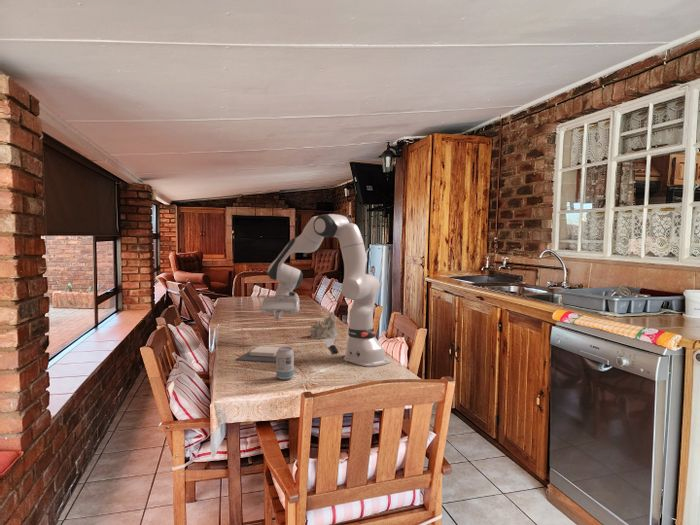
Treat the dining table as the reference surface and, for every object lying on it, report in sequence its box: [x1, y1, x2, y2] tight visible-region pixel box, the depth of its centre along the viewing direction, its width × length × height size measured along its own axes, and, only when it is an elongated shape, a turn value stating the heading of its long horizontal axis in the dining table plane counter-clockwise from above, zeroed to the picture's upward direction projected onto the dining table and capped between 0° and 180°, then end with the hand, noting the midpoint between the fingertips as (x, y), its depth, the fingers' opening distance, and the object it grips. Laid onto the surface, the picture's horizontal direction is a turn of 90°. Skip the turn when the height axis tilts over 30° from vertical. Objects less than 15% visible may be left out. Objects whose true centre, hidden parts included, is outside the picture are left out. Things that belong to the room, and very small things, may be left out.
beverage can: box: [275, 346, 295, 381], centre depth 177 cm, size 7×7×12 cm
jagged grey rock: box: [309, 311, 339, 340], centre depth 252 cm, size 16×16×15 cm
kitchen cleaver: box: [324, 338, 339, 355], centre depth 229 cm, size 31×2×10 cm
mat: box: [235, 349, 276, 364], centre depth 208 cm, size 16×20×1 cm
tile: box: [249, 345, 281, 357], centre depth 212 cm, size 2×12×11 cm
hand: (276, 318), depth 224 cm, fingers closed
